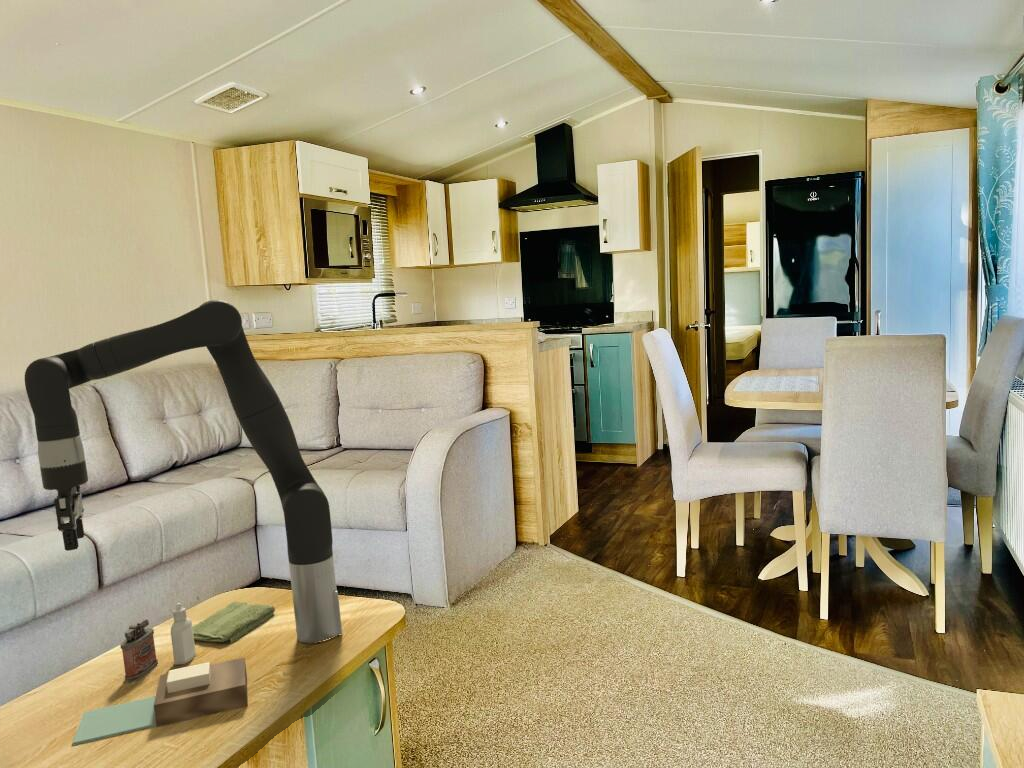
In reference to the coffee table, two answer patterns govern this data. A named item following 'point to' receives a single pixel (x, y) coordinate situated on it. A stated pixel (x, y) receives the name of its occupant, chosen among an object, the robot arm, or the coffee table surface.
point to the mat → (116, 720)
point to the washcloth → (232, 622)
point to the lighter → (138, 651)
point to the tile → (189, 677)
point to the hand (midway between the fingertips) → (75, 543)
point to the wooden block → (203, 694)
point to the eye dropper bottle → (182, 637)
